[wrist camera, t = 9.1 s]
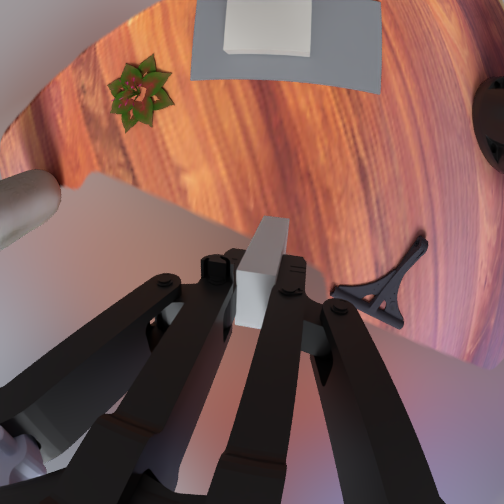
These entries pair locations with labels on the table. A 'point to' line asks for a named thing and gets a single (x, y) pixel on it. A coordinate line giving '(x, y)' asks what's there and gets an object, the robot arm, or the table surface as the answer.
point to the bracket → (383, 289)
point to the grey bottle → (26, 203)
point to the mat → (297, 67)
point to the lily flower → (129, 82)
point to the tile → (268, 27)
